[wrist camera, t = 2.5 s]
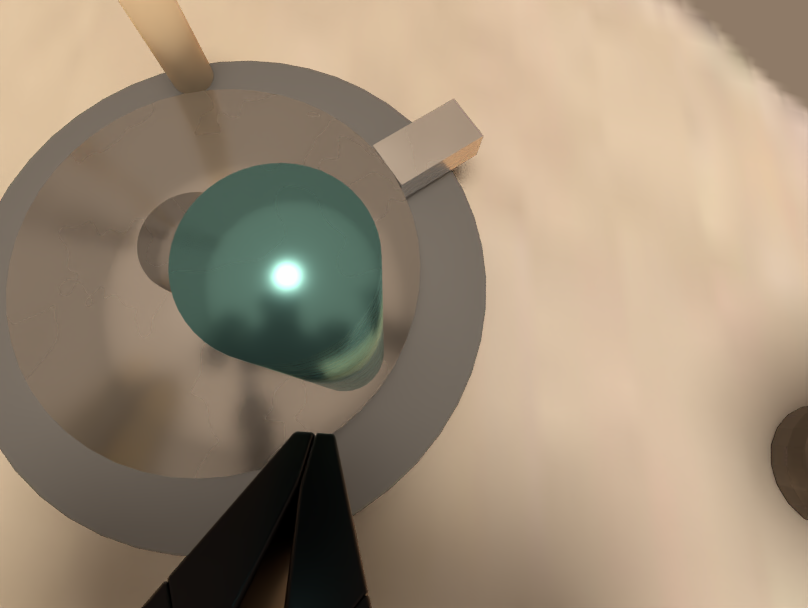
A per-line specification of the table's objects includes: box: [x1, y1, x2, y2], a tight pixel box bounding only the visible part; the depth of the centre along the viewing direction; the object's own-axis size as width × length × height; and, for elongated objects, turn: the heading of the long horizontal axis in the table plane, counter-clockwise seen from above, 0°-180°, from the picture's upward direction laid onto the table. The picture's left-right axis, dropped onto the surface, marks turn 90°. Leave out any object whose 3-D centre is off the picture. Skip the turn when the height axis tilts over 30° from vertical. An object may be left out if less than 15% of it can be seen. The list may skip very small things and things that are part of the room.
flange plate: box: [6, 89, 483, 479], centre depth 11 cm, size 15×14×10 cm
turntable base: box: [0, 0, 486, 556], centre depth 15 cm, size 18×18×6 cm
